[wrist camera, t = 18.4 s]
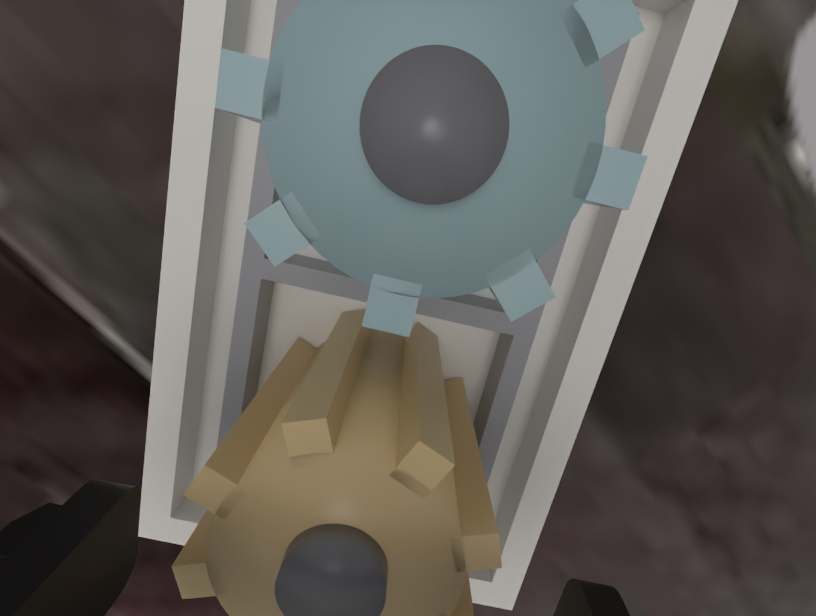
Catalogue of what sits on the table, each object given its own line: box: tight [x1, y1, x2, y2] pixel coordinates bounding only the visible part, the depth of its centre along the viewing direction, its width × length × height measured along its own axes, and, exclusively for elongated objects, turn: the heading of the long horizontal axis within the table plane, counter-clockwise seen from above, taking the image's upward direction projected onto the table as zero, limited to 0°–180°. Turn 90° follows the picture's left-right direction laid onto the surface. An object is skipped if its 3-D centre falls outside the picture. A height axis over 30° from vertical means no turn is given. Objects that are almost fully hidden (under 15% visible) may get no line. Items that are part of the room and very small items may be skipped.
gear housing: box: [138, 0, 738, 610], centre depth 14 cm, size 20×13×2 cm, turn 167°
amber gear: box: [172, 309, 502, 616], centre depth 12 cm, size 6×6×8 cm
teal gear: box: [215, 0, 648, 337], centre depth 10 cm, size 6×6×8 cm
